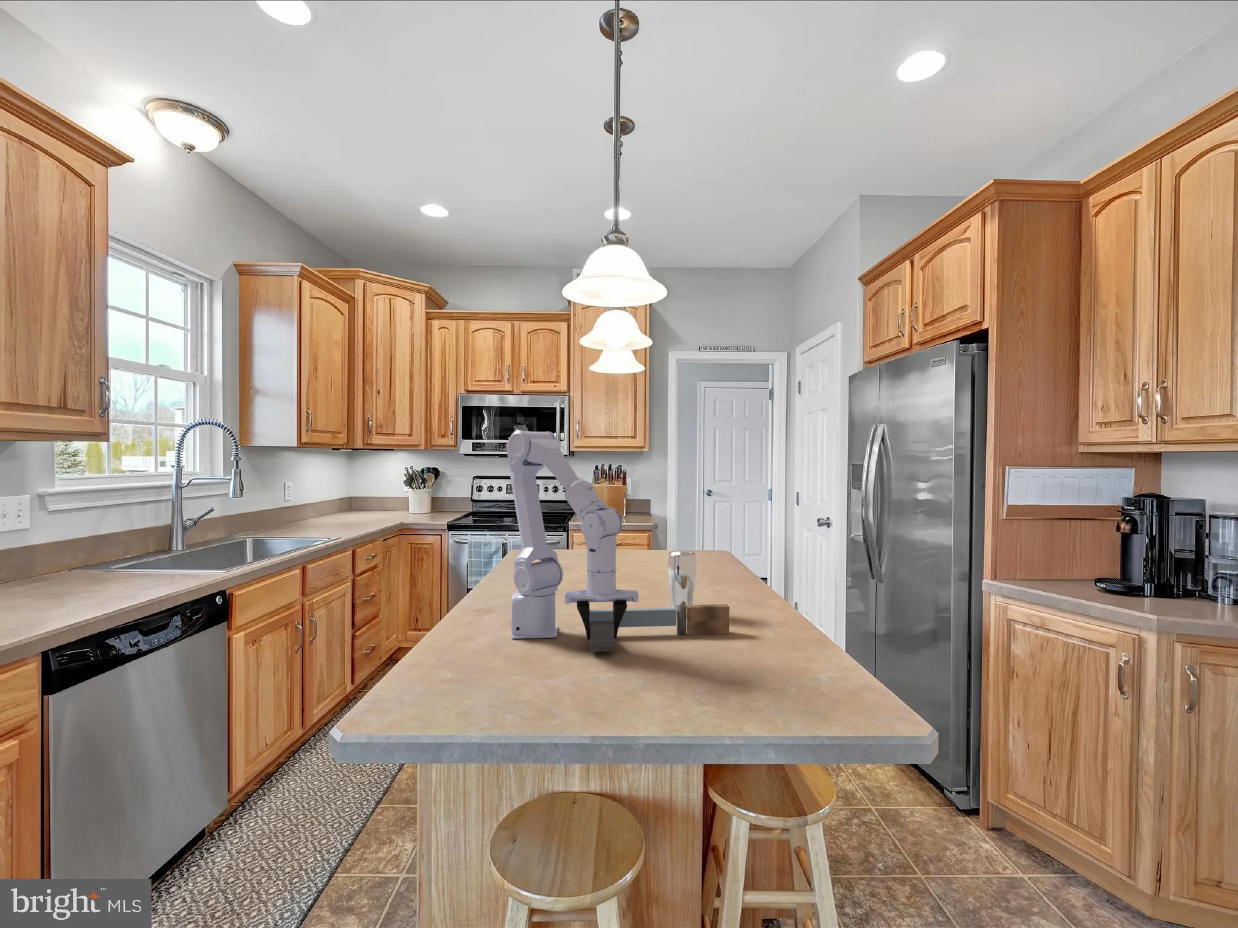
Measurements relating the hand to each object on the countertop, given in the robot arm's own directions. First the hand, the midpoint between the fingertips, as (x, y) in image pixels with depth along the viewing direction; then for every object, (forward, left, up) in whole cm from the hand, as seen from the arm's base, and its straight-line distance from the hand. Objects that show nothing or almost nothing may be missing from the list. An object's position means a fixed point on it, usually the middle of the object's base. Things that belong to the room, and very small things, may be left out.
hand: (601, 638), depth 114 cm
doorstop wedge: (0, +2, -2) cm, 2 cm away
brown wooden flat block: (+23, +10, -3) cm, 25 cm away
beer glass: (+21, +25, -3) cm, 32 cm away
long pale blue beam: (+7, +10, -1) cm, 12 cm away
